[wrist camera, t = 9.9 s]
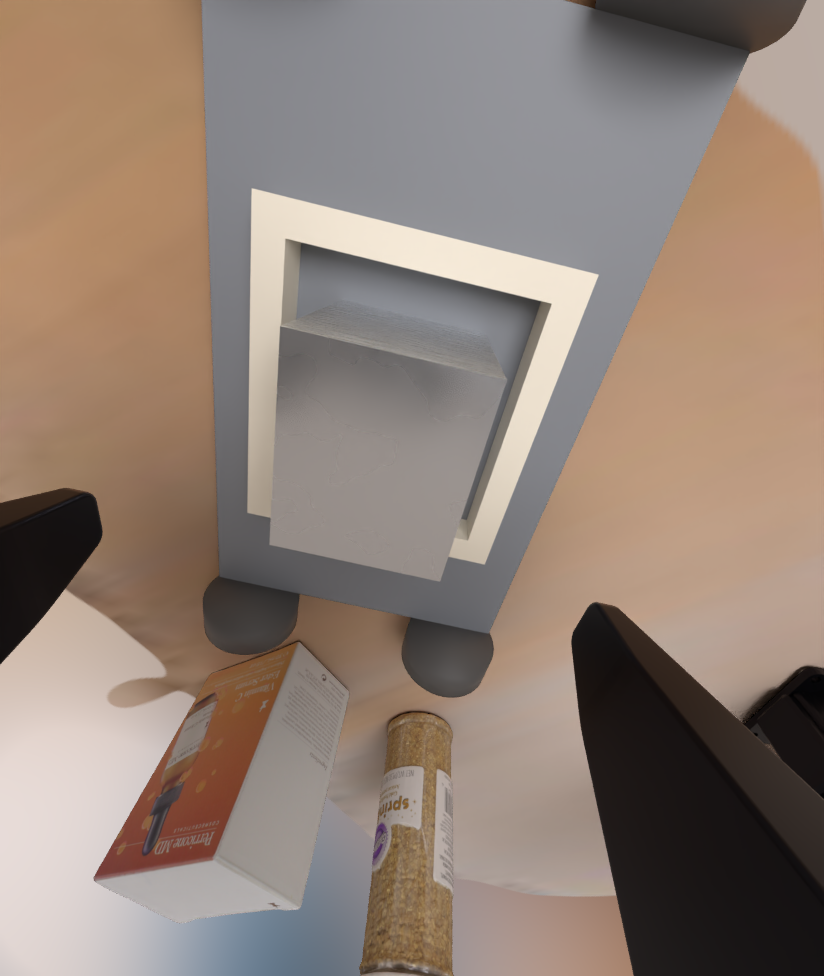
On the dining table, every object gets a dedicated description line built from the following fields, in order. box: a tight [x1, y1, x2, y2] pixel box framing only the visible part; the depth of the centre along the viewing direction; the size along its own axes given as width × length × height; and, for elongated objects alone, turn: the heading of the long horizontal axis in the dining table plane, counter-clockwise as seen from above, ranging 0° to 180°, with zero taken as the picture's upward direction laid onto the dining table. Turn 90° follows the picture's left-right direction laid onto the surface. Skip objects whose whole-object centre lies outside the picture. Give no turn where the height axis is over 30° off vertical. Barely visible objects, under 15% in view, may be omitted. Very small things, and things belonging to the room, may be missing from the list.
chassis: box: [202, 0, 806, 698], centre depth 15 cm, size 14×25×4 cm, turn 168°
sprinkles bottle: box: [359, 712, 454, 976], centre depth 23 cm, size 5×5×13 cm
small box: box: [94, 642, 349, 923], centre depth 23 cm, size 8×6×10 cm
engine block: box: [269, 300, 507, 582], centre depth 13 cm, size 5×6×6 cm
